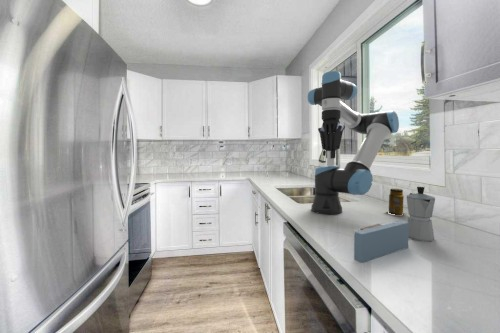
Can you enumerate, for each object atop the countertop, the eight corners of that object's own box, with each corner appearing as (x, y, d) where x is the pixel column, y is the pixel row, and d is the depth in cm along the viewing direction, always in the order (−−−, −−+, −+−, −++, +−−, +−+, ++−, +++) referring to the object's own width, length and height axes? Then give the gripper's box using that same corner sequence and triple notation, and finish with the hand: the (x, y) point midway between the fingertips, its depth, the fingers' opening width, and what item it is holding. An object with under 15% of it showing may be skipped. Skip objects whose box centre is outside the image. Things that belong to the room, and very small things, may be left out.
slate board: (400, 244, 80) (400, 220, 80) (408, 247, 78) (408, 222, 77) (354, 259, 70) (354, 231, 69) (361, 262, 68) (362, 234, 67)
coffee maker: (443, 244, 80) (445, 189, 79) (413, 243, 82) (415, 189, 80) (421, 230, 94) (422, 183, 93) (396, 229, 96) (397, 183, 95)
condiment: (405, 213, 120) (406, 189, 119) (400, 216, 114) (401, 191, 113) (389, 211, 125) (389, 187, 124) (383, 214, 119) (384, 189, 118)
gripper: (313, 112, 107) (313, 165, 109) (336, 107, 96) (336, 167, 97) (326, 113, 111) (325, 165, 112) (349, 108, 99) (349, 166, 101)
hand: (330, 166), depth 105 cm, fingers closed
